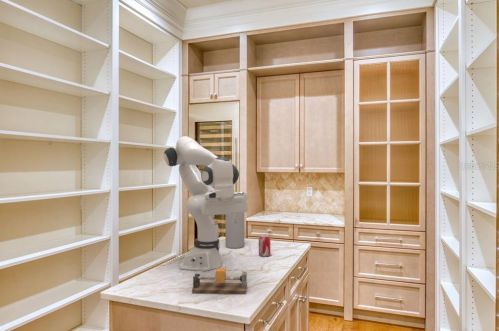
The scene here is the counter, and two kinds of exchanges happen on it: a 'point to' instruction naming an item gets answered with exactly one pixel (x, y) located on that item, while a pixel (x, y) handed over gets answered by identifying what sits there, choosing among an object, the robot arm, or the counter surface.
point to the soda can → (264, 245)
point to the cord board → (219, 285)
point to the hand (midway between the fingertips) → (225, 224)
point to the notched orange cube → (220, 275)
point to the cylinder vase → (234, 231)
